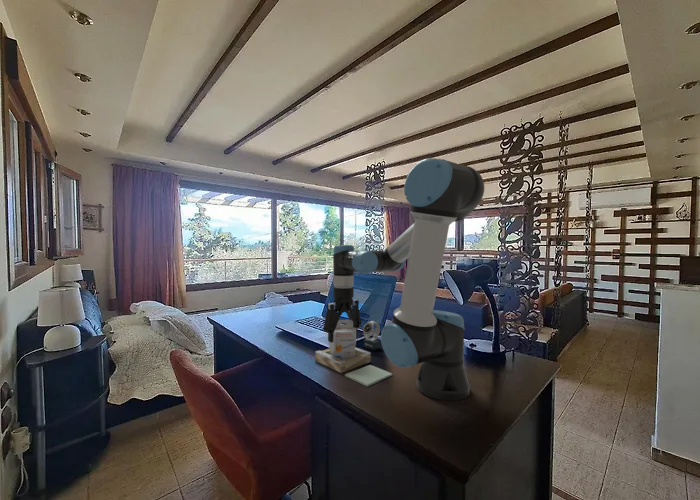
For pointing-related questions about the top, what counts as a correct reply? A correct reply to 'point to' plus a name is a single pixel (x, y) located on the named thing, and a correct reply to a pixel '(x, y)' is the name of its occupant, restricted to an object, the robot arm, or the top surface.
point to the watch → (367, 330)
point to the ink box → (344, 340)
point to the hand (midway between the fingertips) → (343, 347)
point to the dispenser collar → (343, 365)
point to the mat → (368, 375)
